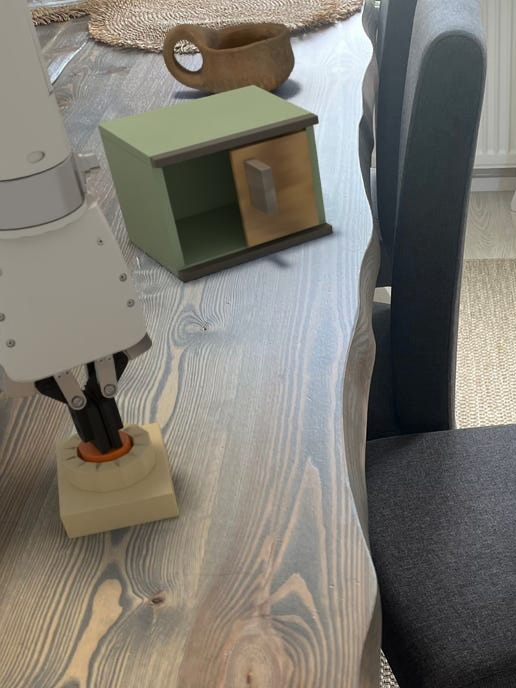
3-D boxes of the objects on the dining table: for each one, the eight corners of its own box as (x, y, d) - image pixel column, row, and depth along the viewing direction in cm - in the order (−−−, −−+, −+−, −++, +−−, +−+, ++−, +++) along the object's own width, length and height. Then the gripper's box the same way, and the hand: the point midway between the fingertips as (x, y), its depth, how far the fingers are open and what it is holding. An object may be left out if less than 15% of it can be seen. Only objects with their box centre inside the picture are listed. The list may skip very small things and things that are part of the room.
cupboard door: (266, 258, 103) (248, 161, 96) (246, 245, 106) (228, 149, 99) (336, 235, 107) (324, 139, 100) (316, 223, 109) (303, 129, 102)
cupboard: (184, 282, 103) (154, 160, 94) (129, 240, 110) (97, 123, 101) (333, 232, 110) (318, 115, 102) (272, 196, 118) (253, 84, 109)
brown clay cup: (178, 109, 136) (157, 23, 131) (174, 109, 147) (155, 30, 142) (307, 91, 139) (292, 6, 134) (293, 92, 151) (279, 14, 146)
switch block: (179, 516, 75) (166, 472, 72) (69, 539, 74) (51, 495, 71) (165, 444, 82) (152, 402, 79) (64, 464, 80) (47, 421, 78)
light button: (136, 469, 75) (130, 450, 74) (87, 479, 74) (79, 460, 73) (132, 444, 78) (126, 424, 76) (84, 453, 77) (77, 434, 76)
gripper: (107, 144, 67) (174, 387, 80) (-126, 205, 61) (-12, 458, 74) (156, 176, 63) (218, 427, 76) (-88, 245, 56) (25, 506, 69)
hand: (104, 442), depth 75 cm, fingers closed
